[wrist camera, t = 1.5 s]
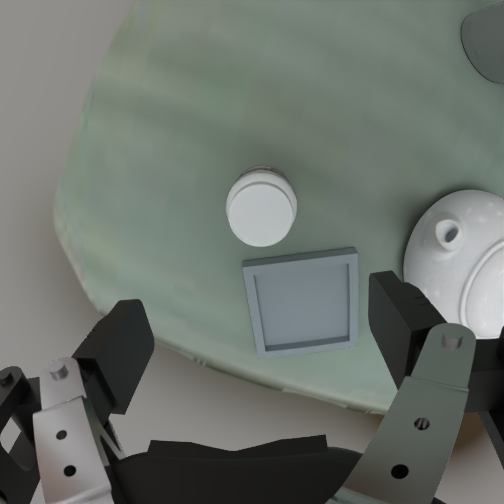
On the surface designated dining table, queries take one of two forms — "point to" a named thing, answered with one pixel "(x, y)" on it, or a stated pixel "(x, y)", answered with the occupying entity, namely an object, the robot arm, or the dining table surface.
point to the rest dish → (303, 302)
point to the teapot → (461, 260)
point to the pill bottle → (261, 206)
